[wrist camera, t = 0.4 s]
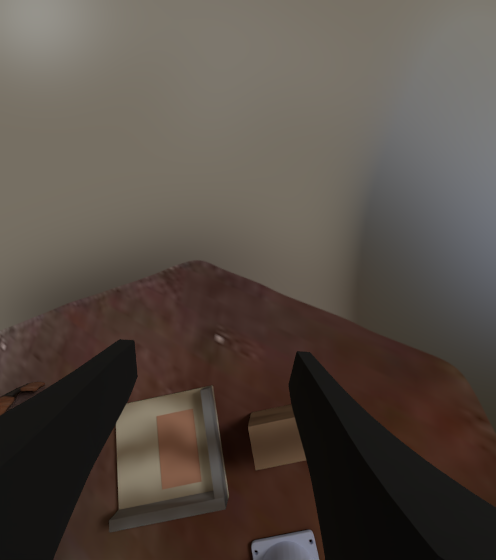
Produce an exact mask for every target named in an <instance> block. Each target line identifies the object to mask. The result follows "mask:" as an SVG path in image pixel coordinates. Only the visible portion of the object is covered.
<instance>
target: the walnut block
mask: <svg viewBox="0 0 496 560" xmlns="http://www.w3.org/2000/svg"><path fill="white" fill-rule="evenodd" d="M248 430H249V436H250V441H251V447H252V453H253V458H254V464H255V469H256V470H260V469H265V468H270V467H275V466H280V465H285V464H289V463H294V462H299V461H304V460H306V457H305V453H304V449H303V446H302V442H301V439H300V435H299V431H298V428H297V424H296V420H295V417H294V413H293V409H292V404H291V405H286V406H282V407H277V408H272V409H267V410H262V411H258V412H253V413H251V415H250V420H249V424H248Z"/></svg>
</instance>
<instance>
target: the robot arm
mask: <svg viewBox="0 0 496 560" xmlns="http://www.w3.org/2000/svg"><path fill="white" fill-rule="evenodd" d="M137 377H138V376H137V365H136V354H135V342H134V340H121V339H120V340H118V341H117V342H115V343H114V344H112V345H111V346H109V347H108V348H106V349H105V350H104V351H102V352H101V353H99V354H98V355H96V356H95V357H94V358H92V359H91V360H89V361H88V362H86V363H85V364H83V365H82V366H81V367H79V368H78V369H76V370H75V371H73V372H72V373H70V374H69V375H67V376H65V377H64V378H62V379H61V380H59V381H58V382H56V383H54V384H53V385H51V386H50V387H48V388H47V389H45V390H43V391H42V392H40V393H39V394H37V395H35V396H34V397H32V398H30V399H28V400H27V401H25V402H23V403H22V404H20V405H18V406H16V407H14V408H13V409H11V410H9V411H7V412H5V413H4V414H2V415H0V560H53V558H54V556H55V553H56V551H57V548H58V546H59V543H60V541H61V538H62V536H63V534H64V531H65V529H66V527H67V524H68V522H69V519H70V517H71V515H72V512H73V510H74V508H75V505H76V503H77V501H78V498H79V496H80V494H81V492H82V489H83V487H84V485H85V482H86V480H87V478H88V476H89V473H90V471H91V469H92V467H93V465H94V463H95V461H96V459H97V457H98V456H99V454H100V452H101V450H102V448H103V446H104V444H105V443H106V441H107V439H108V437H109V435H110V433H111V431H112V430H113V428H114V426H115V424H116V422H117V420H118V419H119V417H120V415H121V413H122V411H123V409H124V407H125V405H126V403H127V401H128V399H129V397H130V395H131V392H132V390H133V387H134V384H135V382H136V379H137ZM289 391H290V398H291V404H292V409H293V413H294V417H295V420H296V424H297V428H298V431H299V435H300V439H301V442H302V446H303V449H304V453H305V457H306V460H307V464H308V468H309V472H310V476H311V481H312V486H313V492H314V497H315V502H316V507H317V513H318V519H319V524H320V530H321V536H322V542H323V548H324V554H325V560H496V507H494V506H493V505H491V504H489V503H488V502H486V501H485V500H483V499H481V498H480V497H478V496H477V495H475V494H474V493H472V492H471V491H469V490H468V489H466V488H465V487H463V486H462V485H460V484H459V483H457V482H456V481H454V480H453V479H451V478H450V477H449V476H447V475H446V474H444V473H443V472H441V471H440V470H439V469H437V468H436V467H434V466H433V465H432V464H430V463H429V462H427V461H426V460H425V459H423V458H422V457H421V456H420V455H418V454H417V453H416V452H414V451H413V450H412V449H410V448H409V447H408V446H406V445H405V444H404V443H403V442H401V441H400V440H399V439H398V438H396V437H395V436H394V435H393V434H392V433H390V432H389V431H388V430H387V429H386V428H385V427H383V426H382V425H381V424H380V423H379V422H378V421H376V420H375V419H374V418H373V417H372V416H371V415H370V414H369V413H367V412H366V411H365V410H364V409H363V408H362V407H361V406H360V405H359V404H358V403H357V402H356V401H355V400H354V399H353V398H352V397H351V396H350V395H349V394H348V393H347V392H346V391H345V390H344V389H343V388H342V387H341V386H340V385H339V384H338V383H337V382H336V381H335V379H334V378H333V377H332V376H331V375H330V374H329V373H328V372H327V371H326V370H325V368H324V367H323V366H322V365H321V364H320V363H319V362H318V361H317V360H316V358H315V357H314V356H313V355H312V354H311V353H310V352H299V351H297V353H296V357H295V361H294V365H293V369H292V373H291V377H290V381H289ZM310 539H312V542H309V540H310ZM251 549H252V555H253V560H319V557H318V553H317V548H316V544H315V539H314V535H313V532H312V531H311V530H305V531H299V532H294V533H289V534H284V535H279V536H274V537H269V538H264V539H259V540H254V541H253V542H252V544H251ZM255 550H257V551H258V552H257V553H256V552H255Z"/></svg>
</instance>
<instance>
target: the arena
mask: <svg viewBox="0 0 496 560" xmlns="http://www.w3.org/2000/svg"><path fill="white" fill-rule="evenodd" d="M116 441H117V471H118V501H119V510H118V511H117V512H116V513H115V514H114V516H113V517H112V518H111V519H110V520H109V532H114V531H119V530H124V529H129V528H134V527H139V526H144V525H149V524H154V523H159V522H164V521H169V520H174V519H179V518H184V517H189V516H194V515H199V514H204V513H209V512H214V511H219V510H224V509H226V505H227V501H228V497H229V493H228V486H227V479H226V473H225V466H224V459H223V452H222V445H221V439H220V432H219V425H218V418H217V411H216V405H215V398H214V391H213V385H212V386H207V387H202V388H197V389H193V390H188V391H183V392H179V393H174V394H169V395H164V396H160V397H155V398H150V399H145V400H141V401H136V402H131V403H126V405H125V407H124V409H123V411H122V413H121V415H120V417H119V419H118V420H117V422H116Z"/></svg>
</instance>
